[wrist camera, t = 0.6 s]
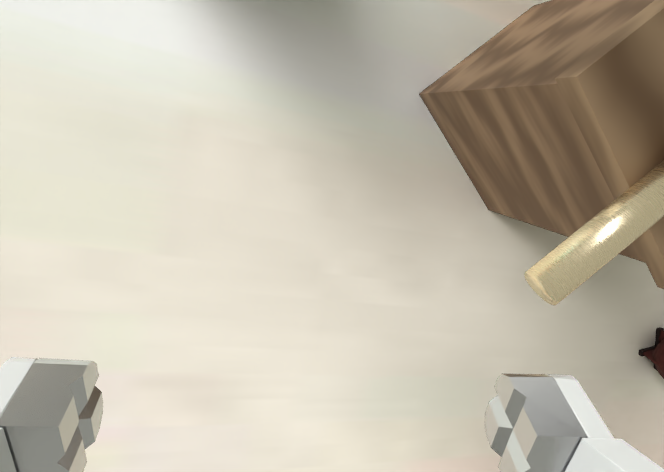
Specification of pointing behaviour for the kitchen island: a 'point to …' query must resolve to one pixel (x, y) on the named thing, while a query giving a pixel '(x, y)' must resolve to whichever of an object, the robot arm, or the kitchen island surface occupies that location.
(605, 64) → the lidded wooden box
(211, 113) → the kitchen island surface
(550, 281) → the brass handle with plate
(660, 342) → the mate gourd
